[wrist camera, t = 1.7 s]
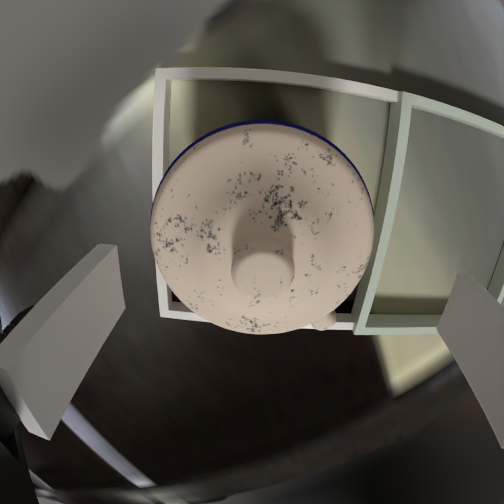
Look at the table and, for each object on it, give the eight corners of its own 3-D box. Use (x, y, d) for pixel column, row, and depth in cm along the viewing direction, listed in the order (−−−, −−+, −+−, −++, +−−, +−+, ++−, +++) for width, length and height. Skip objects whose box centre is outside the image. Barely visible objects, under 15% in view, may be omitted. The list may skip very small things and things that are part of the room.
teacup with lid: (165, 167, 20) (70, 232, 9) (286, 92, 18) (322, 62, 7) (260, 303, 24) (259, 436, 13) (369, 246, 22) (443, 357, 11)
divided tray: (164, 307, 24) (158, 321, 23) (161, 70, 17) (152, 67, 15) (479, 319, 24) (488, 330, 23) (530, 142, 17) (544, 146, 16)
